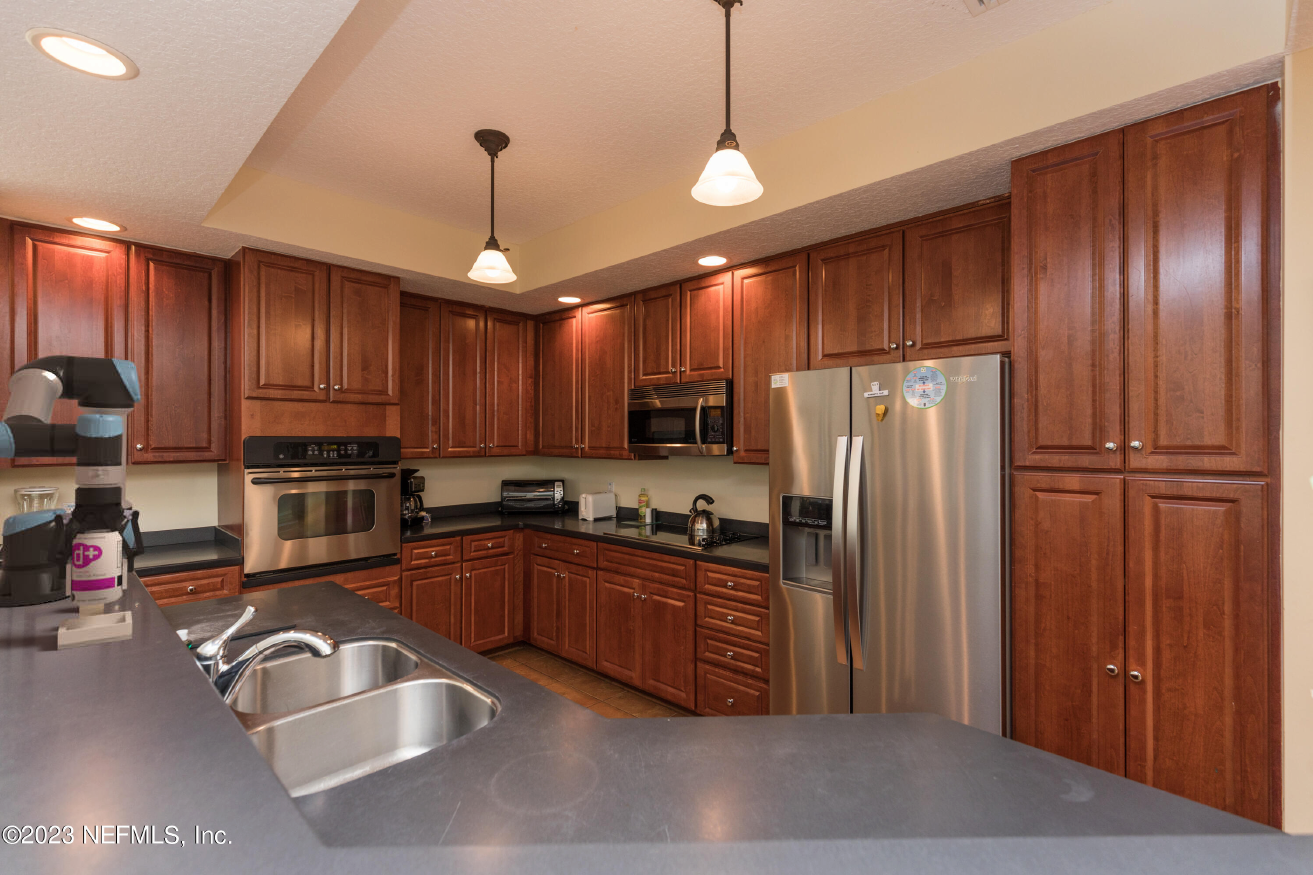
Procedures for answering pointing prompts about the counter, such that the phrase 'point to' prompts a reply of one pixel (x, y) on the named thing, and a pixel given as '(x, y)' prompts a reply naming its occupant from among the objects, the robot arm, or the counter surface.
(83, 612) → the birch block
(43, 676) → the counter surface
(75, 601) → the supplement can
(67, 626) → the off-white tray
